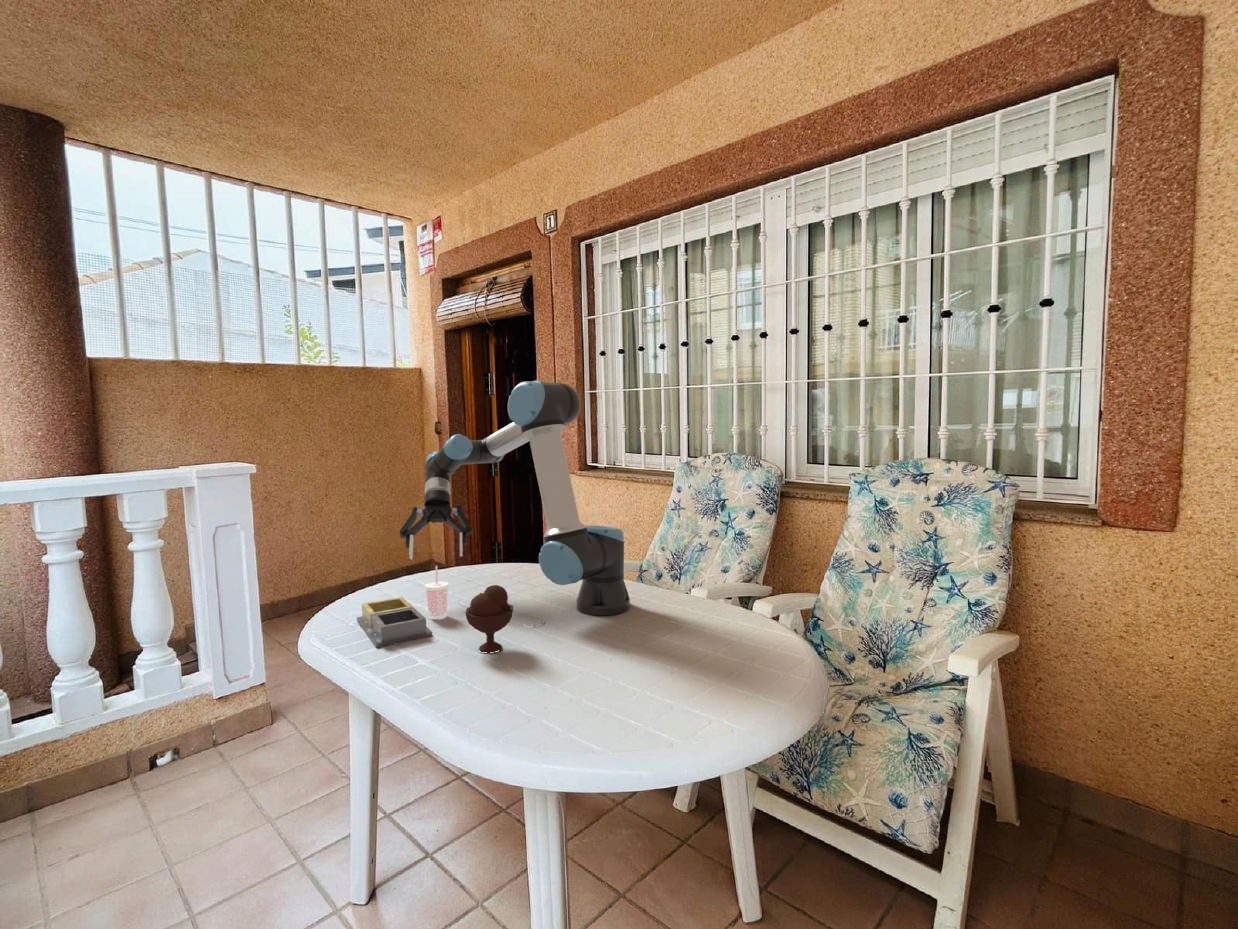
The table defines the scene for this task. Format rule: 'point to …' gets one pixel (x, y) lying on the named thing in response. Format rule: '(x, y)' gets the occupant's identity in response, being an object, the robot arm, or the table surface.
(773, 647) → the table surface
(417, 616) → the square compartment tray
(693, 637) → the table surface
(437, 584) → the beverage cup
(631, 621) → the table surface
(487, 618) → the ice cream bowl
